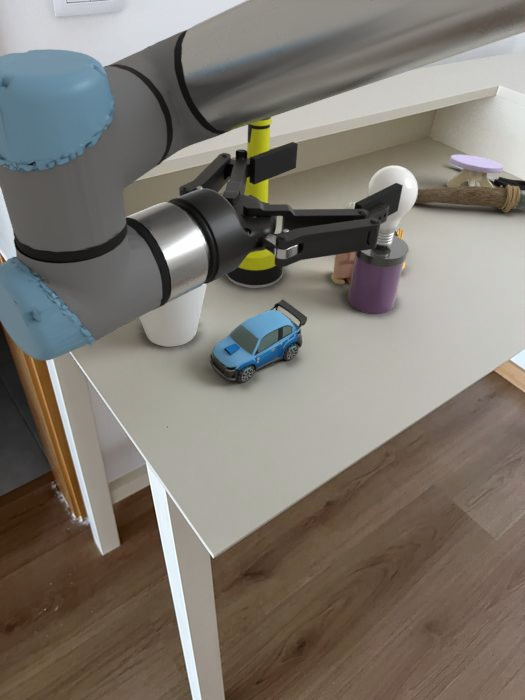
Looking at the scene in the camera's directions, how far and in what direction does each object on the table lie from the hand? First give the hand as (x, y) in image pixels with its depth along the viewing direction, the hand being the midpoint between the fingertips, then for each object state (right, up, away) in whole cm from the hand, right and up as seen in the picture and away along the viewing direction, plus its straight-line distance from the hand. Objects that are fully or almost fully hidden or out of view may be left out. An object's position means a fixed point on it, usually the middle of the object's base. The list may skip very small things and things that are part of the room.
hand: (342, 174), depth 61 cm
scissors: (+31, +22, +64) cm, 74 cm away
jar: (+8, -11, +25) cm, 28 cm away
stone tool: (+20, +11, +47) cm, 52 cm away
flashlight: (-10, -6, +30) cm, 32 cm away
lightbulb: (+8, -4, +19) cm, 21 cm away
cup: (-21, -16, +18) cm, 31 cm away
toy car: (-9, -20, +14) cm, 26 cm away
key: (+13, -2, +32) cm, 35 cm away
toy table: (+32, +13, +55) cm, 65 cm away
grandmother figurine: (+4, -8, +29) cm, 30 cm away
